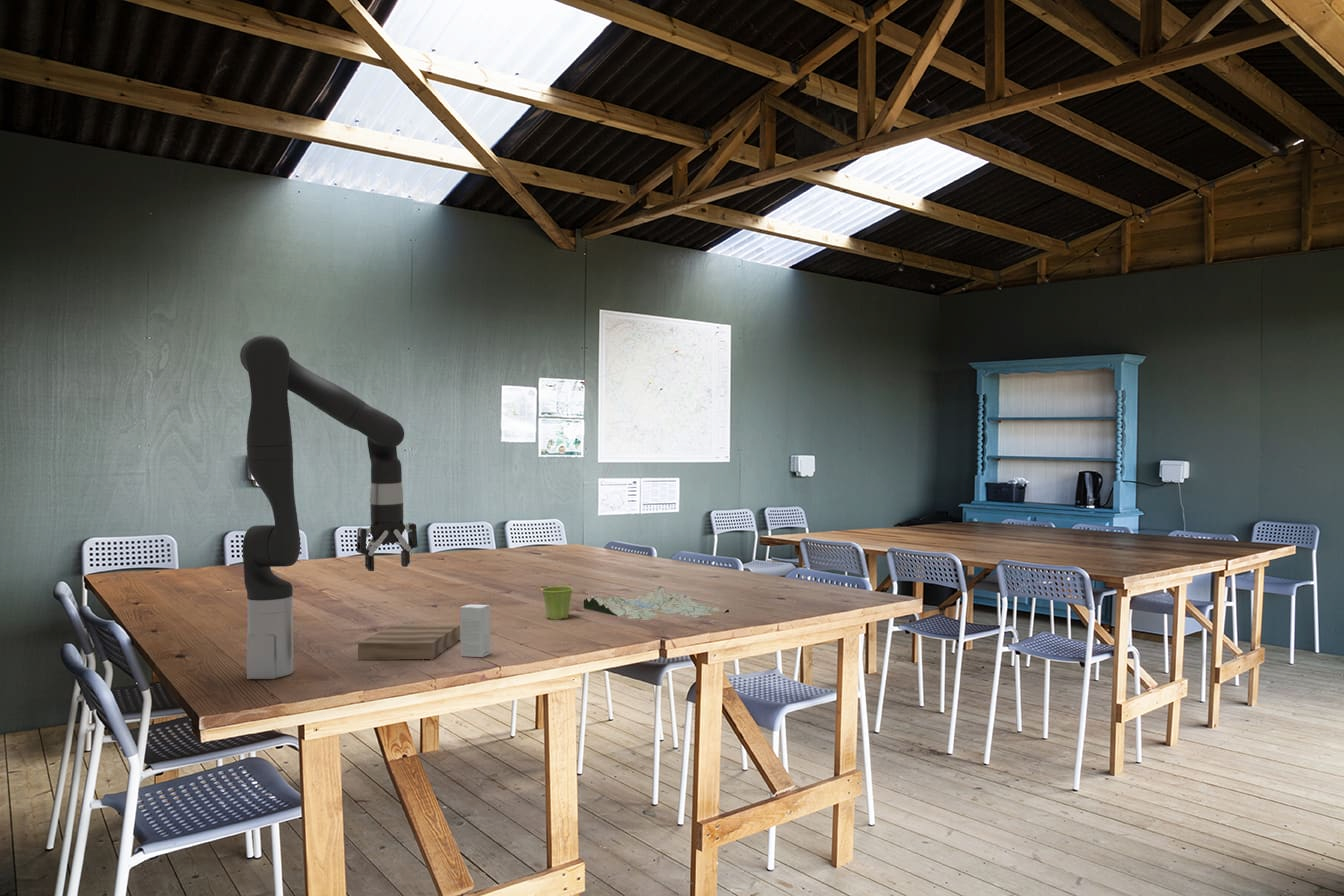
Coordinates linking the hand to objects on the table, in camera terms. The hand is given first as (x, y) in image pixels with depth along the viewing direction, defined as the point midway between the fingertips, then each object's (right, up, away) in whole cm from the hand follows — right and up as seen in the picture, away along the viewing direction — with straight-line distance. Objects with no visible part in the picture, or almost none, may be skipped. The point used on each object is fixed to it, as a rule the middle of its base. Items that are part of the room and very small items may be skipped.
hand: (388, 568), depth 212 cm
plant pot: (+34, -22, +49) cm, 63 cm away
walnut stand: (+3, -21, +8) cm, 23 cm away
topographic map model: (+63, -22, +60) cm, 90 cm away
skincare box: (+21, -21, +1) cm, 30 cm away
